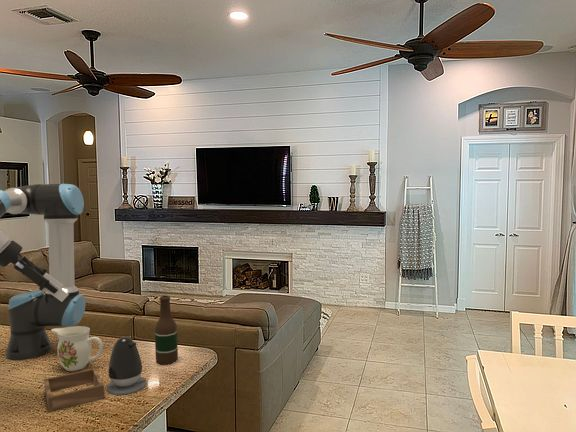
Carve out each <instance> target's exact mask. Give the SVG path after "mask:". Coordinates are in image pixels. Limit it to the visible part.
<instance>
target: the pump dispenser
mask: <svg viewBox="0 0 576 432" xmlns="http://www.w3.org/2000/svg"><path fill="white" fill-rule="evenodd" d="M142 372H143V365H142V360H141V356H140V353H139V350H138V347H137V342H135V341H134V340H133V339H132V338H131V337H128V336H121V337H120V338H118V339H117V340H116V341H115V343H114V345H113V348H112V350H111V354H110V358H109V363H108V371H107V373H108V374H107V375H108V377H109V379H110V382H111V381H112V383H113V384H114V385H116V386H119V387H127V386H131V385H133V384H134V383H136V382H137V381H138V380H139V378H140V377H141V376H142Z"/></svg>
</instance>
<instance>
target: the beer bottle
mask: <svg viewBox="0 0 576 432" xmlns="http://www.w3.org/2000/svg"><path fill="white" fill-rule="evenodd" d="M170 300H171V297H170V296H169V295H161V296H160V297H159V302H160V303H159V305H160V306H159V307H160V308H159V319H158V320H157V322H156V323H155V327H154V342H155V344H154V346H155V348H154V349H155V351H154V352H155V362H156V364H159V366H169V365H172V363H173V364H175V363H176V362H177V361H176V360H178V357H179V356H178V355H179V352H178V327H177V324H176V320H174V318H173V317H172V312H171V311H172V310H171V301H170ZM174 362H175V363H174ZM168 364H169V365H168Z"/></svg>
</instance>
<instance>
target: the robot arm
mask: <svg viewBox="0 0 576 432" xmlns="http://www.w3.org/2000/svg"><path fill="white" fill-rule="evenodd" d="M84 208H85V202H84V196H83V194H82V192H81V190H80V188H79V187H78V186H77V185H74V184H73V183H72V184H70V183H50V184H49V183H47V184H46V183H41V184H40V183H39V184H37V183H36V184H29V185H23V186H18V187H16V186H15V187H9V188H7V189H6V190H3V189H0V219H1V218H2V217H3V216H4V215H5V214H7V213H9V214H11V215H18V214H19V215H20V214H22V215H38V216H39V215H40V216H42V215H43V220H44V221H45V222H46V224H48V225H47V226H48V229H47V230H48V268H49V269H48V270H49V271H48V270H47V269H45V268H41V267H39V266H38V265H36V264H35V263H34V262H33V261H31V260H30V259H28V257H26V256H23V255H22V254H21V252H22V251H23V246H22V245H20V244H19V243H18V242H16V241H15V240H11V237H10V236H8V235H7V234H5V232H3V231H1V230H0V267H1V268H5V267H7V266H8V265H9V264H10V263H11V264H12V265H13V268H14V269H15V271H18V272H20V273H21V274H22V275H23V276H26V278H28V279H29V280H30V281H32V282H33V283H34V284H35V285H37V286H38V287H39V288H38V289H39V290H31V291H27V292H23V293H19V294H16V295H13V296H12V297H11V298H9V300H8V314H9V315H8V317H9V330H10V331H9V332H10V337H9V340H8V342H7V343H8V344H7V347H6V351H5V352H6V353H5V354H6V355H5V356H6V358H7V359H9V360H14V361H18V360H19V361H20V360H29V359H34V358H38V357H40V356H43V355H46V354H48V353H50V351H52V341H51V339H50V337H49V335H48V333H47V331H46V327H62V328H65V327H73V326H77V325H78V324H79V323H80V322H81V320H82V319H83V316H84V314H85V312H86V311H85V310H86V305H87V304H86V303H87V302H86V299H85V298H86V297H85V296H84V295H83V294H80V289H79V288H78V287H77V286H76V285H75V240H74V239H75V237H74V235H75V233H74V228H75V226H74V223H75V222H76V221H78V219H79V218H78V216H80V215H81V214H82V213H83V211H84ZM47 272H49V273H47ZM43 290H45V292H44V291H43Z"/></svg>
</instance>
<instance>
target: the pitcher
mask: <svg viewBox="0 0 576 432" xmlns="http://www.w3.org/2000/svg"><path fill="white" fill-rule="evenodd" d="M50 330H51V332H53V333H54V334H55V335H56V336H57V338H58V342H57V352H56V353H57V356H58V361H59V363H60V365H61V367H62V368H63V369H65V371H67V372H78V371H82V370H83V369H85V368H86V367H87V365H88V364H89V363H90V362H93V361H96V360H97V359H99V358H100V356H102V353H103V351H104V344H103V342H102V339H101V338H99V337H98V336H91V337H90V332H91V328H90V327H88V326H84V325H82V326H81V325H79V326H78V325H74V326H66V327H56V328H52V329H50ZM92 341H94V342H95V341H96V342H97V345H98V352H97V354H95V355H94V356H92V347H93V345H92Z"/></svg>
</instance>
